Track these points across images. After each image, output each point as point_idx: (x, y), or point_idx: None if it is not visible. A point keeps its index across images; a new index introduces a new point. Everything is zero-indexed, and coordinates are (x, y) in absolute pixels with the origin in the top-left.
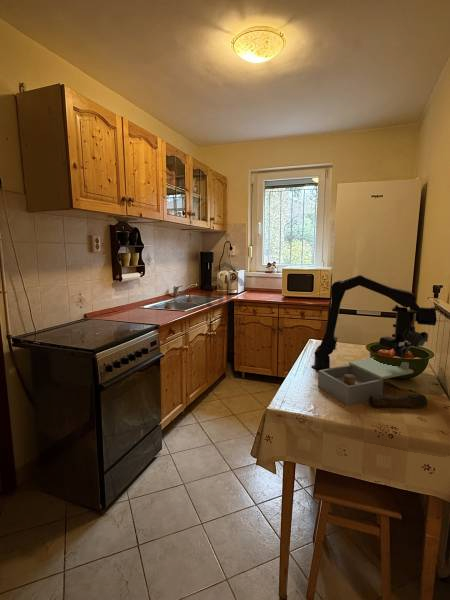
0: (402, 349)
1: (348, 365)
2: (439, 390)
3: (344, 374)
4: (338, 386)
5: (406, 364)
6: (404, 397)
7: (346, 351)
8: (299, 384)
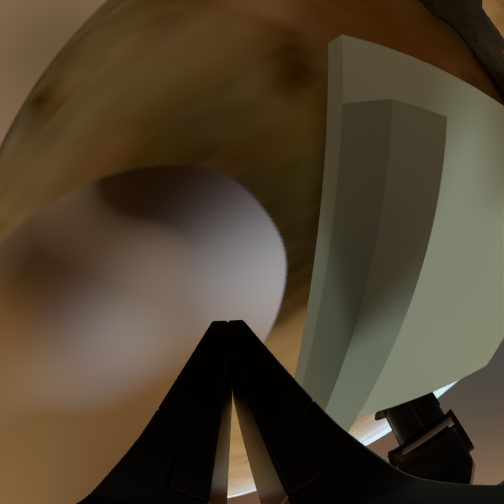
0: (363, 494)
1: None
2: (105, 21)
3: None
4: None
5: (427, 114)
6: (491, 25)
7: None
8: None
